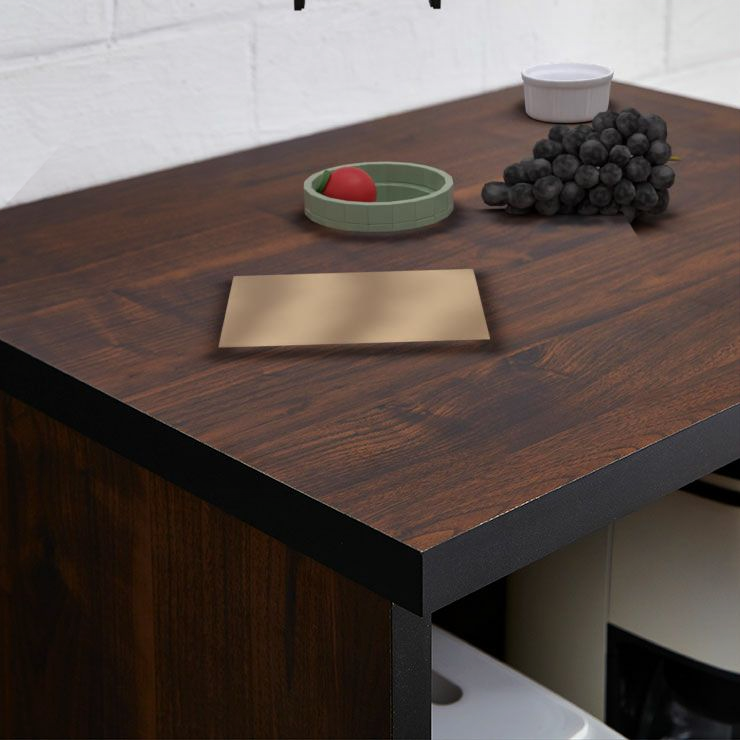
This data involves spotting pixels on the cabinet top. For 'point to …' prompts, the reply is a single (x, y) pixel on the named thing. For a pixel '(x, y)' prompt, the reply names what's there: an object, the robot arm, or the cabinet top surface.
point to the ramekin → (566, 91)
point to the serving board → (353, 308)
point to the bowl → (385, 199)
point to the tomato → (347, 185)
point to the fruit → (592, 169)
